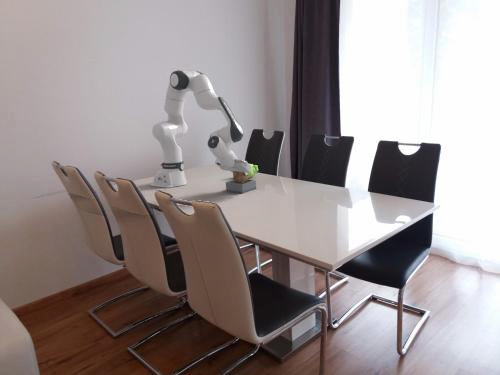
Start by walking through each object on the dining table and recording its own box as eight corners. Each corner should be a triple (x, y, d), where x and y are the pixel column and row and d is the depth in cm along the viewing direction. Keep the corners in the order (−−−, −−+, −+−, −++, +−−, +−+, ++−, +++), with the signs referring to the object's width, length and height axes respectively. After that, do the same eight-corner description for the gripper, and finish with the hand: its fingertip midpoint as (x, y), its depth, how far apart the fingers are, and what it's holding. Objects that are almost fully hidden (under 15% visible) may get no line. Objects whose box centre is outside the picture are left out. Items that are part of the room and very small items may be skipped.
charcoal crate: (226, 190, 230) (225, 182, 229) (239, 186, 239) (239, 178, 238) (242, 193, 223) (242, 184, 222) (256, 188, 232) (255, 180, 231)
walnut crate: (233, 182, 229) (232, 168, 228) (240, 180, 234) (239, 166, 232) (241, 183, 226) (241, 169, 224) (248, 181, 230) (247, 167, 228)
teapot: (259, 177, 260) (258, 162, 257) (244, 180, 254) (243, 165, 252) (249, 175, 269) (249, 160, 267) (234, 177, 264) (233, 162, 261)
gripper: (246, 155, 214) (258, 170, 224) (217, 153, 227) (230, 167, 237) (241, 165, 212) (253, 180, 222) (212, 162, 225) (225, 176, 234)
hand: (241, 173), depth 229 cm, fingers closed on walnut crate, 6 cm apart
